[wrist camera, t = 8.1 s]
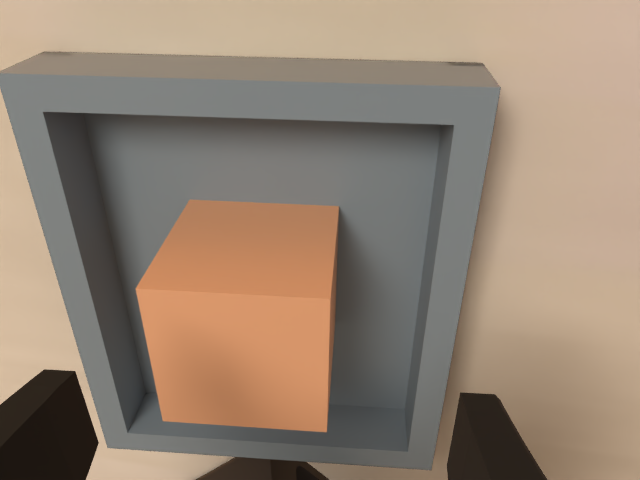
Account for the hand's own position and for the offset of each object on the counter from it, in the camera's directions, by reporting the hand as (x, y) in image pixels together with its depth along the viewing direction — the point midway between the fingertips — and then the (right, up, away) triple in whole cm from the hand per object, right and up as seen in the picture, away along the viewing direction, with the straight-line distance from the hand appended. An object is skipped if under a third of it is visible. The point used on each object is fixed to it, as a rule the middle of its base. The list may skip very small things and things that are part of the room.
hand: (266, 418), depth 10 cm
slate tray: (-1, +2, +10) cm, 10 cm away
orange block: (-1, +2, +9) cm, 9 cm away
